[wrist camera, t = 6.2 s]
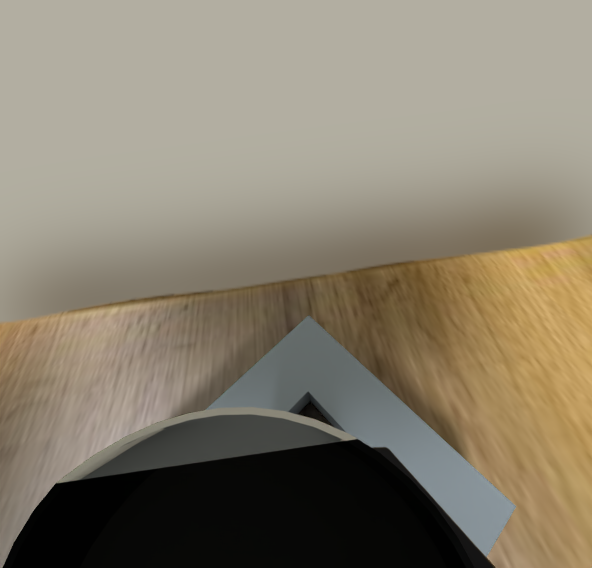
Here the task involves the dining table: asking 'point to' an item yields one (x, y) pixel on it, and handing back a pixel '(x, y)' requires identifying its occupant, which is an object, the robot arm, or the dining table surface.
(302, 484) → the peg
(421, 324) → the dining table surface
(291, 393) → the socket
